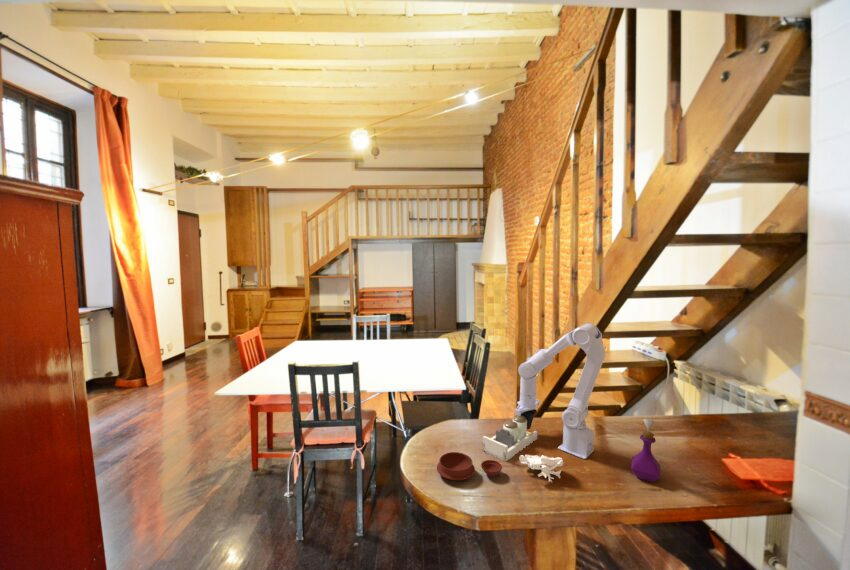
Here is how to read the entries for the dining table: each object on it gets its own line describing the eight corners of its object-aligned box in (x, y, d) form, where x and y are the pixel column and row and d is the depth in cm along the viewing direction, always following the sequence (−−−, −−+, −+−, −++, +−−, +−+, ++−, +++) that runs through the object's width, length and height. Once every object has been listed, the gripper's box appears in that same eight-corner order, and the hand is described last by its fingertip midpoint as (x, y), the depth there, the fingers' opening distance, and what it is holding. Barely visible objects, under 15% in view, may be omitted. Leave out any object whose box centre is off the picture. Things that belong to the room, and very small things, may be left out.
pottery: (436, 463, 118) (436, 450, 118) (498, 464, 118) (498, 451, 118) (436, 486, 107) (437, 471, 106) (505, 487, 106) (505, 473, 106)
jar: (522, 441, 130) (523, 422, 130) (509, 437, 133) (510, 418, 133) (528, 436, 134) (529, 418, 133) (515, 432, 137) (516, 414, 137)
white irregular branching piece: (572, 459, 110) (542, 461, 105) (571, 484, 109) (541, 486, 104) (542, 448, 121) (514, 449, 116) (541, 470, 120) (513, 472, 115)
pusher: (513, 448, 125) (514, 432, 124) (512, 450, 124) (512, 433, 124) (497, 441, 130) (497, 426, 129) (495, 442, 129) (496, 427, 128)
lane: (537, 438, 134) (537, 425, 134) (505, 461, 119) (506, 447, 119) (515, 430, 140) (515, 417, 140) (482, 450, 126) (482, 436, 125)
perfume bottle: (659, 487, 106) (663, 428, 105) (630, 479, 110) (633, 421, 109) (659, 474, 113) (663, 418, 111) (631, 466, 117) (634, 412, 115)
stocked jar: (520, 442, 129) (520, 423, 129) (512, 448, 126) (513, 428, 125) (508, 437, 133) (508, 419, 132) (500, 442, 129) (500, 423, 129)
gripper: (528, 385, 144) (527, 418, 145) (507, 395, 134) (507, 430, 135) (544, 390, 139) (543, 424, 140) (525, 401, 129) (524, 437, 130)
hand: (526, 428), depth 137 cm, fingers closed
